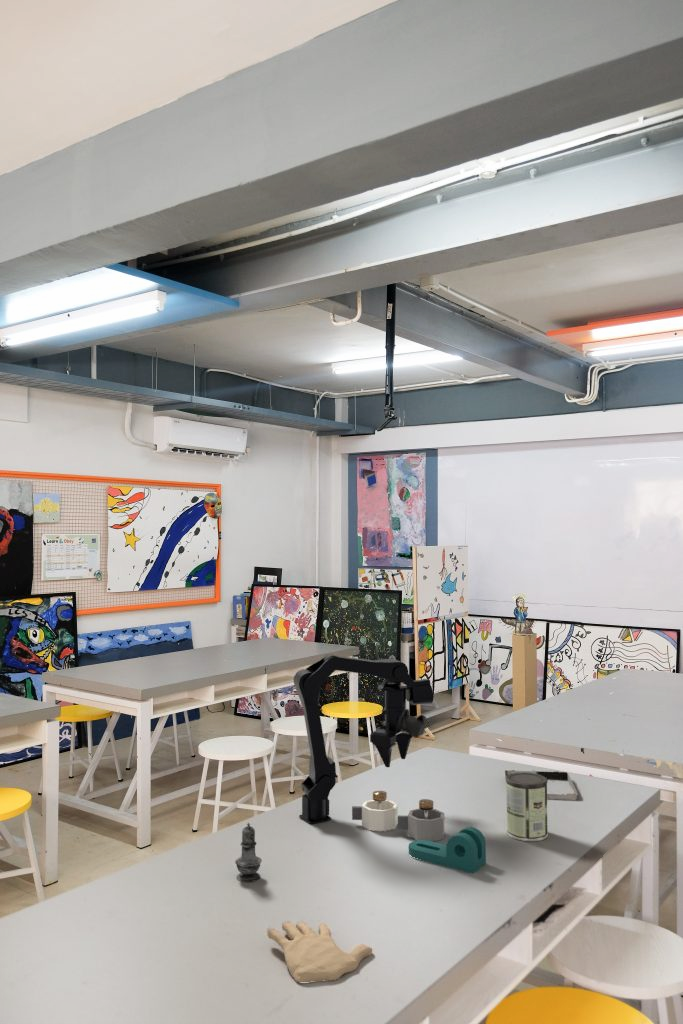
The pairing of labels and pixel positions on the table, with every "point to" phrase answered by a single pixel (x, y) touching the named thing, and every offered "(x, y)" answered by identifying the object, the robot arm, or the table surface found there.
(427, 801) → the coffee tamper
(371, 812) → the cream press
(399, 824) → the grey octagonal hollow piece
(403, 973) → the table surface
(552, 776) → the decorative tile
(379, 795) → the brown and grey doorknob
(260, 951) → the table surface
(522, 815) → the coffee can
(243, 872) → the salt shaker
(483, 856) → the bracket
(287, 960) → the hand model
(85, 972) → the table surface
